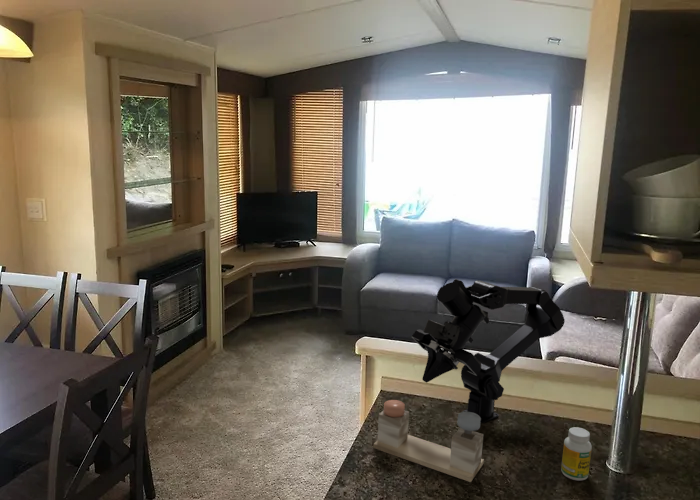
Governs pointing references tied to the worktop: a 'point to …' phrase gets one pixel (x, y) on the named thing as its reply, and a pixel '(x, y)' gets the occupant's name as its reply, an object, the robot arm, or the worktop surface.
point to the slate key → (468, 421)
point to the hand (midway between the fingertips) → (424, 381)
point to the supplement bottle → (576, 454)
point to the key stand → (431, 448)
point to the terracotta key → (394, 408)
